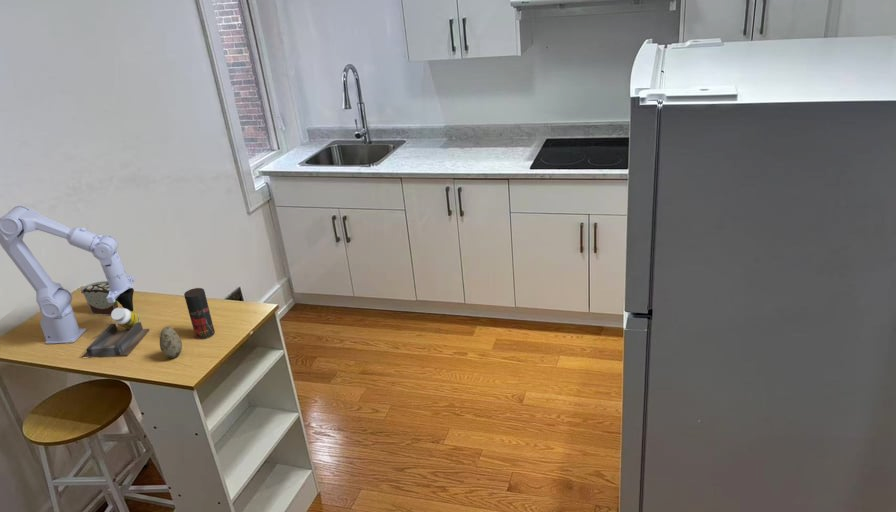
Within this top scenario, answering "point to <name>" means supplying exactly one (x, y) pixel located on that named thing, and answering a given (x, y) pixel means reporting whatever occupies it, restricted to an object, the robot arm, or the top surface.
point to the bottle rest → (116, 341)
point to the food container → (98, 298)
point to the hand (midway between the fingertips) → (129, 311)
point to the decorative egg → (170, 342)
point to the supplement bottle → (124, 318)
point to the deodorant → (199, 313)
